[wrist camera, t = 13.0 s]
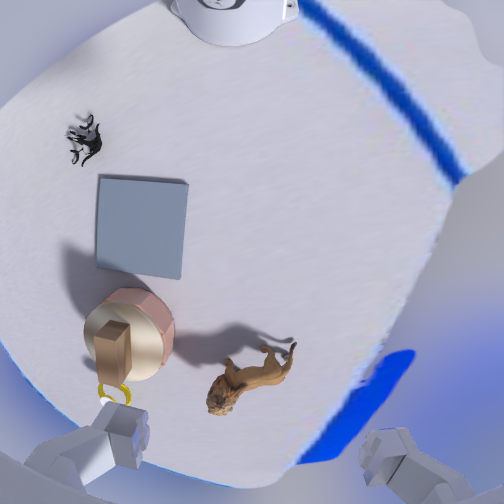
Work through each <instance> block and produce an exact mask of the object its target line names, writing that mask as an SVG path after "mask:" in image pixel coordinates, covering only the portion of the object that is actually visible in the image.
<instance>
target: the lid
mask: <svg viewBox="0 0 504 504" xmlns="http://www.w3.org/2000/svg"><path fill="white" fill-rule="evenodd" d="M84 339H85V343H86V346H87V349H88V351H89V353H90V355H91V356H92V358H93V359H94V360H95V362H96V365H97V372H98V380H99V382H100V383H103V384H107V385H110V386H114V387H118V388H120V386H121V385H122V383H123V382H124V380H127V381H140V380H144V379H147V378H149V377H151V376H152V375H153V374H154V373H155V372H156V371H157V370H158V368H159V367H160V365H161V363H162V361H163V358H164V351H165V349H164V341H163V338H162V335H161V332H160V330H159V328H158V327H157V325H156V324H155V322H154V321H153V320H152V319H151V318H150V317H149V316H148V315H147V314H146V313H145V312H144V311H142V310H141V309H139V308H138V307H136V306H134V305H132V304H129V303H126V302H121V301H110V302H106V303H103V304H101V305H99V306H98V307H96V308H95V309H94V310H93V311H92V312H91V313H90V314H89V315H88V317H87V319H86V321H85V325H84Z"/></svg>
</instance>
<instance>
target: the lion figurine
mask: <svg viewBox="0 0 504 504" xmlns="http://www.w3.org/2000/svg"><path fill="white" fill-rule="evenodd" d="M296 345H297V342H295V343H293V344H292V345H291V348H290V352H289V355H285V356H284V361H286V363H285V364H284V365H283V366H281V365H280V364H279V362H278V361H277V360H276V358H275V352H274V351H273V350H272V349H270V348H269V347H268V346H266V345H263V346H261V351H262V353H266V352H267V353H268V355H267V357H266V359H265V361H264V366H263V367H256V366H251V367H246V368H243V369H241V370H239V371H237V372H236V371H235V370H234V363H233V362H232V361H231V360H226V361H225V365H226V366H227V368H226V369H225V374H222V375H221V376H218V377H217V379H216V380H215V381H214V382H213V384H212V386H211V388H210V390H209V393H208V397H207V399H206V404H207V406H208V408H209V410H208V413H209V414H210V413H212V414H213V415H219V416H222V415H227V414H228V413H229V412H231V411H232V410H233V409H232V408H233V406H234V404H235V403H236V400H237V399H238V398H239V395H241V394H242V393H243V392H244V391H247V390H251V389H254V388H257V387H259V386H263V385H277V384H279V383H281V382H282V381H284V379H285V376H286V375H287V374H288V372H289V370H290V368H291V365H292V361H293V358H292V355H293V350H294V348H295V346H296Z"/></svg>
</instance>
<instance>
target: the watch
mask: <svg viewBox="0 0 504 504" xmlns="http://www.w3.org/2000/svg"><path fill="white" fill-rule="evenodd" d="M119 389H120V390H122V391H123V392H124V394H125V396H126V404H124V405H127V406H128V405H129V404H130V402H131V393H130V391H129V389H128V388H127V387H126V386H124V385H123V384H122V385H121V386H120V388H119ZM98 394H99V396H100V398H101V399H100V402H101V404H102V406H104V405H105V403H106V402H108V401H112V402H116V401H115V400H114V399H113V398H112V397H111V396H109V395H105V393H104V391H103V383H100V384H99V386H98Z"/></svg>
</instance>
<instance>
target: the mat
mask: <svg viewBox="0 0 504 504" xmlns="http://www.w3.org/2000/svg"><path fill="white" fill-rule="evenodd" d="M188 187H189V185H186V184H175V183H163V182H150V181H136V180H120V179H100V191H99V205H98V226H97V267H98V268H104V269H110V270H116V271H123V272H129V273H135V274H142V275H148V276H155V277H162V278H169V279H176V280H180V278H181V267H182V253H183V240H184V228H185V217H186V206H187V196H188Z"/></svg>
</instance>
